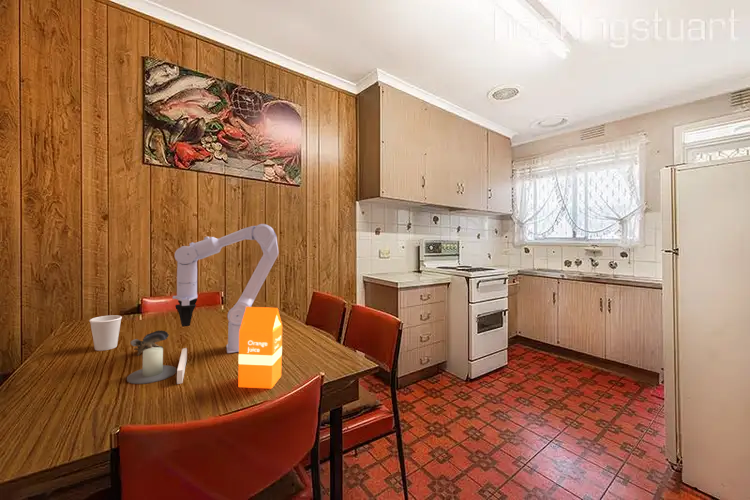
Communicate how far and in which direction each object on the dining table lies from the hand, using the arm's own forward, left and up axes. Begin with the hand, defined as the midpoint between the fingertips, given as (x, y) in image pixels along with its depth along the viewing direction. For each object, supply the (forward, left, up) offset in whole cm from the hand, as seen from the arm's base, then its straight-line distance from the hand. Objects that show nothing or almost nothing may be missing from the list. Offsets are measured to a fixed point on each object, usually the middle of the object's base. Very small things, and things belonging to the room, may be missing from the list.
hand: (186, 323), depth 104 cm
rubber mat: (+7, +17, -9) cm, 21 cm away
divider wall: (0, +17, -9) cm, 19 cm away
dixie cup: (+24, -14, -10) cm, 29 cm away
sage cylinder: (+7, +17, -9) cm, 20 cm away
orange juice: (-19, +33, -10) cm, 39 cm away
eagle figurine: (+11, -4, -10) cm, 15 cm away
